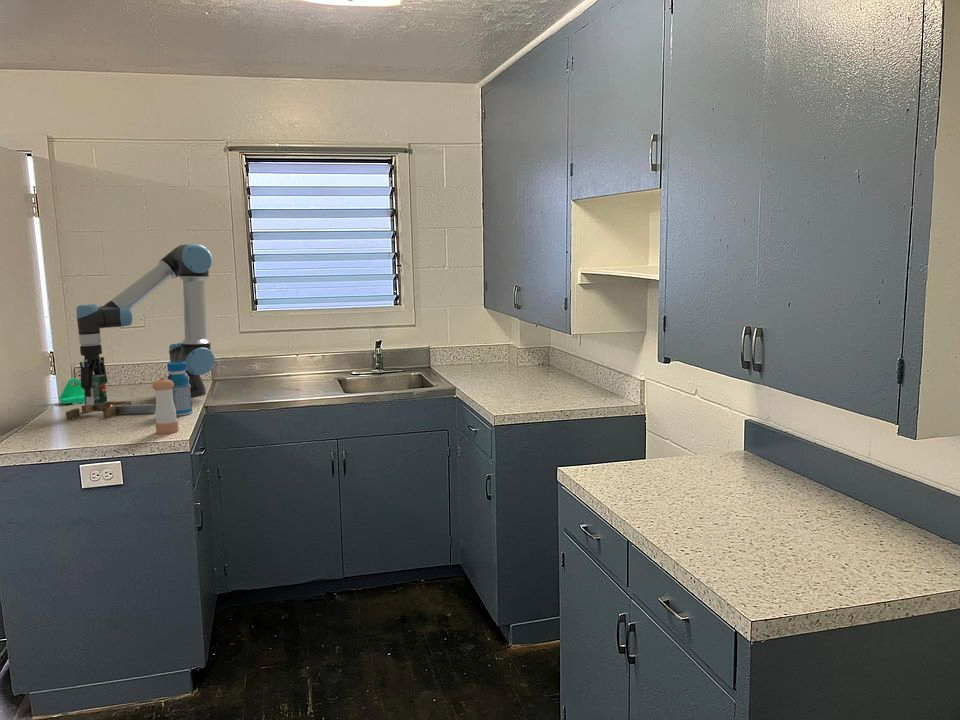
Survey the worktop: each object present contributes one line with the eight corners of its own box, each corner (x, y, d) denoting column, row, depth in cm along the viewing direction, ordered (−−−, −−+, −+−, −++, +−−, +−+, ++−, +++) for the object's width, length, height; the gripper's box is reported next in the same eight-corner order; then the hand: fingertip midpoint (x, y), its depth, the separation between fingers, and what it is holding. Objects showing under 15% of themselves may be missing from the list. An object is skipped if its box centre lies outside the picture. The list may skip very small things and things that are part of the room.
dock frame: (131, 408, 321) (131, 400, 321) (107, 418, 302) (106, 411, 302) (93, 409, 322) (92, 401, 322) (66, 419, 303) (65, 412, 302)
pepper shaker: (181, 428, 281) (176, 375, 278) (174, 433, 274) (169, 378, 271) (160, 429, 281) (155, 376, 278) (153, 434, 273) (147, 379, 271)
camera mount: (63, 406, 331) (61, 382, 330) (60, 403, 337) (57, 380, 336) (95, 402, 339) (92, 378, 337) (90, 399, 345) (88, 376, 343)
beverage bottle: (182, 416, 301) (177, 364, 298) (164, 415, 304) (159, 364, 301) (197, 412, 309) (193, 361, 306) (180, 411, 312) (175, 360, 309)
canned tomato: (82, 403, 311) (79, 375, 309) (103, 400, 316) (100, 373, 314) (89, 406, 305) (86, 377, 303) (110, 402, 310) (107, 375, 309)
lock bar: (155, 411, 312) (154, 403, 311) (151, 413, 309) (151, 404, 308) (112, 412, 313) (111, 404, 312) (107, 414, 309) (106, 405, 309)
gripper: (94, 341, 318) (100, 397, 321) (66, 348, 297) (72, 408, 300) (113, 341, 317) (118, 397, 321) (85, 347, 297) (91, 407, 300)
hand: (96, 402), depth 311 cm, fingers closed on canned tomato, 8 cm apart
